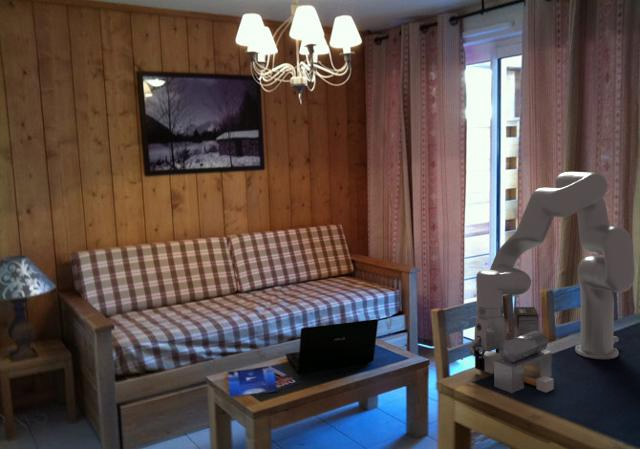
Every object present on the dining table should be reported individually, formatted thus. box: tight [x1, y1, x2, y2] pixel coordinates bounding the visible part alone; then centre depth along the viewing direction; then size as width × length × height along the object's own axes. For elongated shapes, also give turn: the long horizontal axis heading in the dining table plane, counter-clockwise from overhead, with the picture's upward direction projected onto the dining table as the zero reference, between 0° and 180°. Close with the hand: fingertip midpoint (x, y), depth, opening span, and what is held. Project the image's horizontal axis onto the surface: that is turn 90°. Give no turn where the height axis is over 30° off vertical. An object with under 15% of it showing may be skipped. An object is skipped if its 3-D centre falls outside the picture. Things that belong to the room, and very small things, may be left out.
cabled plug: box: [483, 350, 555, 393], centre depth 166 cm, size 4×24×5 cm, turn 34°
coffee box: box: [513, 306, 540, 338], centre depth 179 cm, size 9×6×16 cm
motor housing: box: [493, 331, 552, 394], centre depth 162 cm, size 18×6×14 cm, turn 124°
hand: (490, 365), depth 173 cm, fingers open, 9 cm apart
